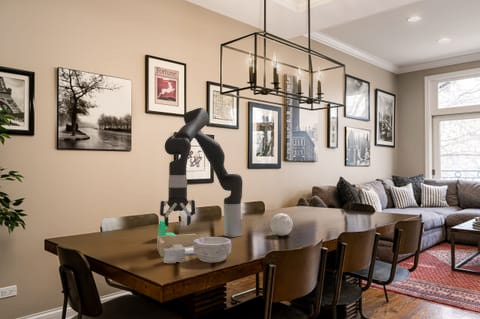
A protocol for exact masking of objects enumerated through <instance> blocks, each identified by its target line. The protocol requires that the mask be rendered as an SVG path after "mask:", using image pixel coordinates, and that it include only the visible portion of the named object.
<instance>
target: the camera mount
mask: <svg viewBox="0 0 480 319" xmlns="http://www.w3.org/2000/svg"><path fill="white" fill-rule="evenodd" d="M158 225H159V226H158V232H157V236H168V235H176V233H174V232H166V230H167V229H168V228H169V226H168V227H166V225H165V224H164V219H161V220H159V224H158Z"/></svg>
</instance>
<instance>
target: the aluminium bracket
mask: <svg viewBox="0 0 480 319" xmlns="http://www.w3.org/2000/svg"><path fill="white" fill-rule="evenodd" d="M176 262H179V263H185V262H186V255H185V248H184V247H183V246H182V245H181V244H176V245H173V248H168V249H164V257H163V263H167V264H177V263H176Z"/></svg>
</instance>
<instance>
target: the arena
mask: <svg viewBox="0 0 480 319" xmlns="http://www.w3.org/2000/svg"><path fill="white" fill-rule="evenodd" d="M197 237H198V234H197V233H187V234H175V235H168V236H158V235H157V236H156V249H157V252H158V254H159V257H160V258H164V249H168V248H173V245H176V244H181V245H182V246H183V247H184V248H185V256H189V255H190V256H192V255H195V254H194V249H193V247H194V244H193V242H194V240H195V239H198V238H197Z"/></svg>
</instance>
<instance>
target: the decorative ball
mask: <svg viewBox="0 0 480 319" xmlns="http://www.w3.org/2000/svg"><path fill="white" fill-rule="evenodd" d="M293 225H294V224H293V219H292V217H290V216H289V214H286V213H282V212H281V213H277V214H275V215H274V216H272V218H271V220H270V229H271V230H272V233H274V234H275V235H276V236H281V237H284V236H286V235H288V234H289V233H291V232H292V230H293Z"/></svg>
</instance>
